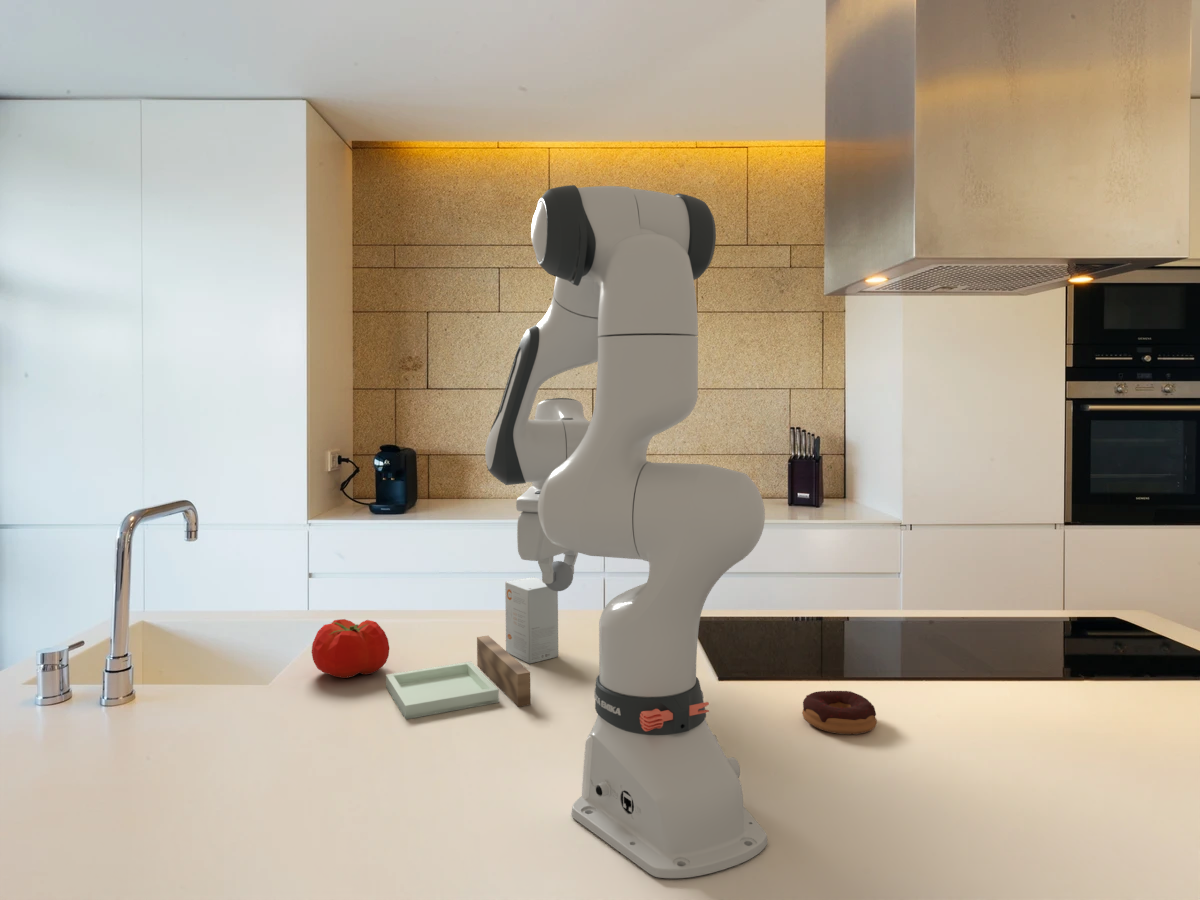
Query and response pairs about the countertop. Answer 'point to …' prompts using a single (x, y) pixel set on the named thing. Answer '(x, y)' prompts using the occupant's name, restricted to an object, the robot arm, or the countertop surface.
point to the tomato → (350, 648)
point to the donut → (839, 712)
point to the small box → (531, 620)
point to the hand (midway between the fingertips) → (558, 579)
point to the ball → (561, 576)
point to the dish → (440, 689)
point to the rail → (504, 670)
